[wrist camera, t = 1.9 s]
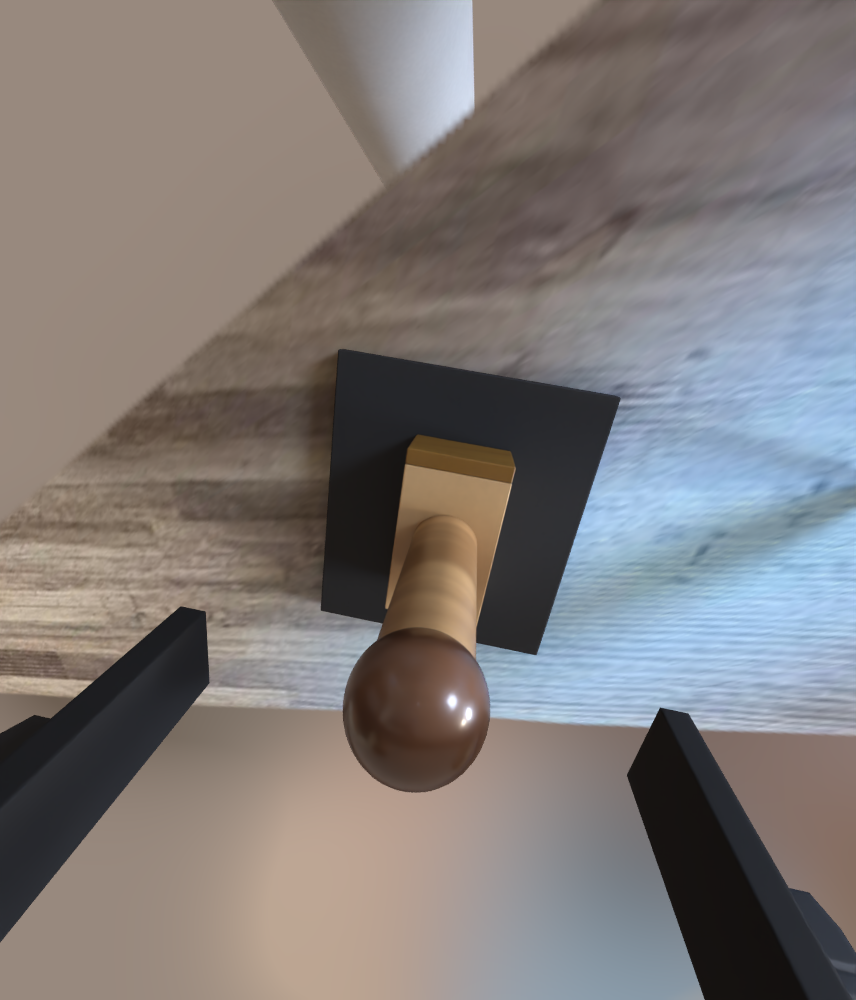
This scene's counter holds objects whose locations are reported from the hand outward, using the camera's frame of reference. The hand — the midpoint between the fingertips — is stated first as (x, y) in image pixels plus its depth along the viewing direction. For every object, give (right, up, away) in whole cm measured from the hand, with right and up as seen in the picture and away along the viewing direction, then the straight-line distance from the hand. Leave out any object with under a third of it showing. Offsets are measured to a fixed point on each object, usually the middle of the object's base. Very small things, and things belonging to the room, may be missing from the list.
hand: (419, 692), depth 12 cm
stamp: (+1, +5, +11) cm, 12 cm away
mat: (+2, +5, +12) cm, 13 cm away
